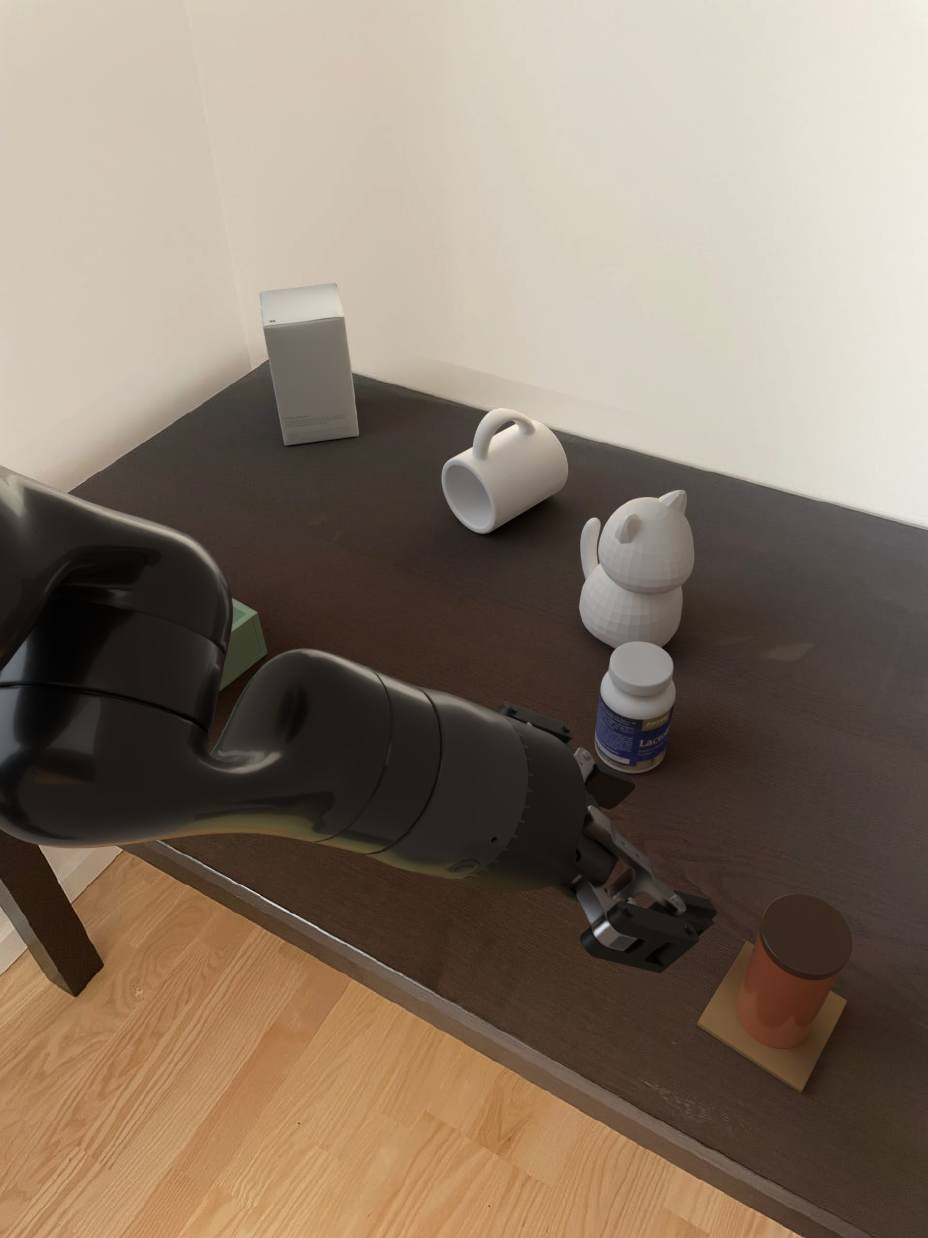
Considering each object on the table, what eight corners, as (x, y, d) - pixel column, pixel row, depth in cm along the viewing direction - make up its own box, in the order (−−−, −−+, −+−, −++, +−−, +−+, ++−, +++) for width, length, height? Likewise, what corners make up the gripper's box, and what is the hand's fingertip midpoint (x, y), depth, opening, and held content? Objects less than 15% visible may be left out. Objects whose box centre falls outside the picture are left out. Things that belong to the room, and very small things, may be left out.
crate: (159, 739, 81) (143, 698, 77) (70, 675, 86) (51, 634, 83) (267, 653, 88) (257, 612, 84) (178, 599, 93) (165, 558, 90)
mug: (567, 504, 102) (572, 404, 94) (496, 548, 97) (495, 446, 89) (512, 472, 107) (513, 374, 99) (442, 512, 102) (436, 412, 94)
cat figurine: (631, 686, 83) (648, 551, 73) (540, 607, 91) (543, 475, 80) (706, 641, 87) (732, 506, 77) (612, 569, 94) (624, 438, 84)
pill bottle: (646, 787, 76) (660, 702, 69) (581, 757, 78) (588, 671, 71) (677, 738, 79) (693, 652, 72) (614, 711, 81) (623, 625, 74)
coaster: (800, 1094, 59) (802, 1091, 58) (696, 1025, 62) (697, 1022, 62) (845, 1004, 63) (847, 1000, 62) (745, 943, 66) (747, 940, 66)
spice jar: (794, 1067, 59) (831, 992, 53) (720, 1018, 62) (746, 940, 55) (827, 1003, 62) (866, 924, 55) (754, 959, 65) (784, 878, 58)
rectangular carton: (361, 437, 113) (345, 316, 103) (284, 447, 112) (260, 326, 102) (353, 397, 119) (338, 280, 109) (280, 407, 118) (257, 289, 108)
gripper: (590, 868, 36) (789, 921, 47) (452, 624, 46) (643, 714, 56) (460, 987, 38) (678, 1012, 49) (355, 730, 48) (556, 798, 59)
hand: (659, 852), depth 53 cm, fingers open, 8 cm apart
